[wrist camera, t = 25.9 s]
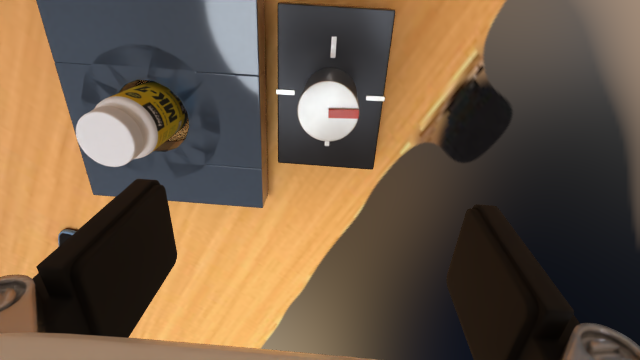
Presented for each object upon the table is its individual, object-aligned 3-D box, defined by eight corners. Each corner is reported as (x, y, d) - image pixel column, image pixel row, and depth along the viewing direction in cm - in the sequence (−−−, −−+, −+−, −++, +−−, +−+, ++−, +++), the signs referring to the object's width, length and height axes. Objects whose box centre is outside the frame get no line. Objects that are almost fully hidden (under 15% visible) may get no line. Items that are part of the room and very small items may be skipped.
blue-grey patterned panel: (53, -28, 26) (26, -30, 24) (264, -15, 26) (256, -16, 23) (109, 182, 34) (93, 195, 32) (268, 194, 34) (262, 208, 32)
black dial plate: (282, 2, 26) (275, 2, 23) (391, 8, 26) (397, 10, 23) (282, 148, 32) (276, 163, 29) (371, 155, 31) (374, 170, 29)
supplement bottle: (200, 107, 30) (154, 143, 23) (170, 142, 32) (118, 185, 25) (154, 66, 29) (89, 90, 21) (126, 105, 31) (56, 139, 23)
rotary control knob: (304, 120, 27) (297, 142, 23) (303, 67, 25) (295, 81, 21) (355, 121, 27) (357, 144, 23) (358, 68, 25) (361, 82, 21)
